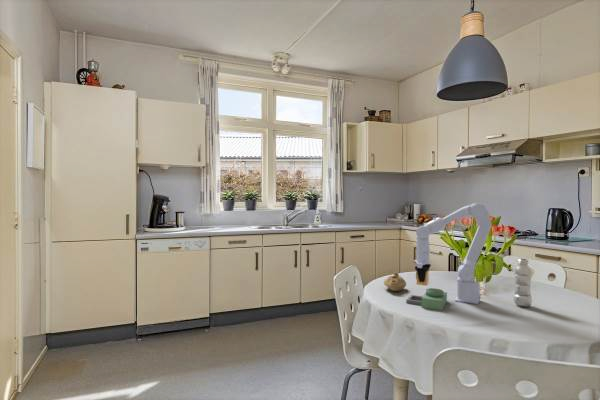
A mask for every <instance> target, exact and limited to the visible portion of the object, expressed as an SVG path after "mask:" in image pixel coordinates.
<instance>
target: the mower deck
mask: <svg viewBox="0 0 600 400" xmlns="http://www.w3.org/2000/svg"><path fill="white" fill-rule="evenodd" d="M447 302H448V293H447V292H445V291H444V290H443V289H439V288H432V287H431V288H430V287H429V288H426V289H425V293H424V295H414V294H410V295H409V297H408V298H406V301H405V303H406V304H411V305H416V306H421V308H422V309H423V308H424V309H430V310H431V309H432V310H437V311H443V309H444V307H445V306H446V304H447Z"/></svg>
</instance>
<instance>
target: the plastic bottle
mask: <svg viewBox="0 0 600 400" xmlns="http://www.w3.org/2000/svg"><path fill="white" fill-rule="evenodd" d="M517 264H518V265H516V267H515V268H514V270H513V273H514V279H515V291H514V295H513V302H514V304H515V305H516V306H519V307H525V308H527V307H531V306H532V304H533V298H532V293H531V282H532V274H533V272H532V270H531V268H530V266H529V259H527V258H517Z"/></svg>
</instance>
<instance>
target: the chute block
mask: <svg viewBox="0 0 600 400" xmlns="http://www.w3.org/2000/svg"><path fill="white" fill-rule="evenodd" d="M429 277H430V275H429V270H428V271H426V275H425V281H424V282H419V278H418V274H417V271H416V273H415V279H416V285H418V286H419V285H420V286H425V287H426V286H428V285H429V284H430V281H429V279H430V278H429Z"/></svg>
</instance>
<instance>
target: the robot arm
mask: <svg viewBox="0 0 600 400" xmlns="http://www.w3.org/2000/svg"><path fill="white" fill-rule="evenodd" d="M471 216H472V218H474V220H475V221H476V223H477V225H478V227H477V229H476V232H475V233H474V237H472V241H471V243H470V246H469V248H468V250H467V252H466V256H465V257H464V259H463V261H462V263H461V264H460V265H459V266H458V267H457V274H458V277H457V278H456V297H455V298H454V301H455V302H461V303H467V304H475V305H476V304H477V305H478V304H480V300H481V294H480V293H481V292H480V291H481V289H480V287H481V286H480V281H475V279H474V278H475V269H476V265H477V262H478V259H479V257H480V255H481V252H482V250H483V247H484V245H485V244H486V243H485V242H486V241H487V238H488V236H489V234H490V230H491V228H492V226H493V225H492V220H491V218H490V213H489V210H488V209H487V208H486V206H485V205H484V204H483V203H479V202H473V203H472V204H468V205H466V206H463V207H460V208H459V209H457V210H455V211H453V212H451V213H450V214H448V215H446V216H444V217H433V218H432V220H430V221H428V222H424V223H423V225H420V226H419V227H418V228H417V229H416V231H415V232H416V233H415V234H416V242H415V243H416V248H415V249H416V250H415V251H416V256H415V257H416V259H414V260H413V262H414V263H416V265H415V266H414V269H415V271H416V272H417V274H418V278H419V282H424V281H425V275H426V271H429V270H430V268H431V267H432V265H431V263H430V262H431V261H430V241H429V238H430V235H434V234H436V233H438V232H440V231H442V230H444V229H445V228H446V225H448V224H450V223H453V222H454V221H456V220H458V219H460V218H464V217H469V218H470V217H471Z"/></svg>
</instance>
